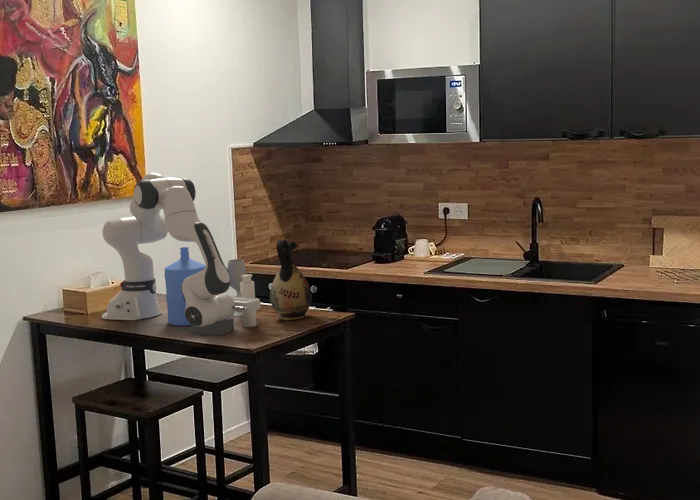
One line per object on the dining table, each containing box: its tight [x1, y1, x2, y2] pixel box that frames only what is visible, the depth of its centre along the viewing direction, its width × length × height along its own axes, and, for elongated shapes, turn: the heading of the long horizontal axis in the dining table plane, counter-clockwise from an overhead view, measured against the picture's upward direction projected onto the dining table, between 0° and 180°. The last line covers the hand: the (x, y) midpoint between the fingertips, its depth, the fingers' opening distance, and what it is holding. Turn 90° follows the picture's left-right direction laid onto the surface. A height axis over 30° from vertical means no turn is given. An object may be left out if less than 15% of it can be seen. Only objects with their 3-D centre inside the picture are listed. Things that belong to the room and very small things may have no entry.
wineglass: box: [226, 258, 248, 317], centre depth 340 cm, size 8×8×21 cm
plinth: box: [192, 316, 235, 335], centre depth 316 cm, size 12×10×4 cm
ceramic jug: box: [269, 239, 313, 321], centre depth 329 cm, size 17×15×30 cm
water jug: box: [164, 246, 206, 327], centre depth 331 cm, size 16×16×28 cm
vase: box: [240, 273, 257, 328], centre depth 321 cm, size 5×5×18 cm
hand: (246, 299), depth 320 cm, fingers open, 8 cm apart
